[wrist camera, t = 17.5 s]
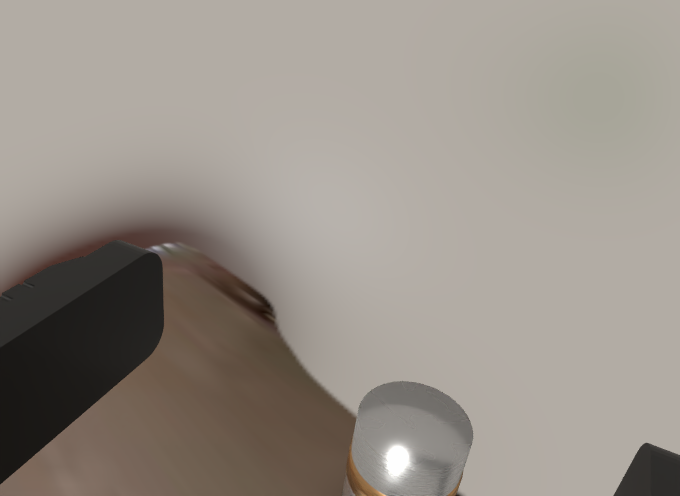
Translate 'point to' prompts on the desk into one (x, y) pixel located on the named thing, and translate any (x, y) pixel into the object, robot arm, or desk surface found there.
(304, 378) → the desk surface
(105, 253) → the robot arm
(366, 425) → the cylinder
